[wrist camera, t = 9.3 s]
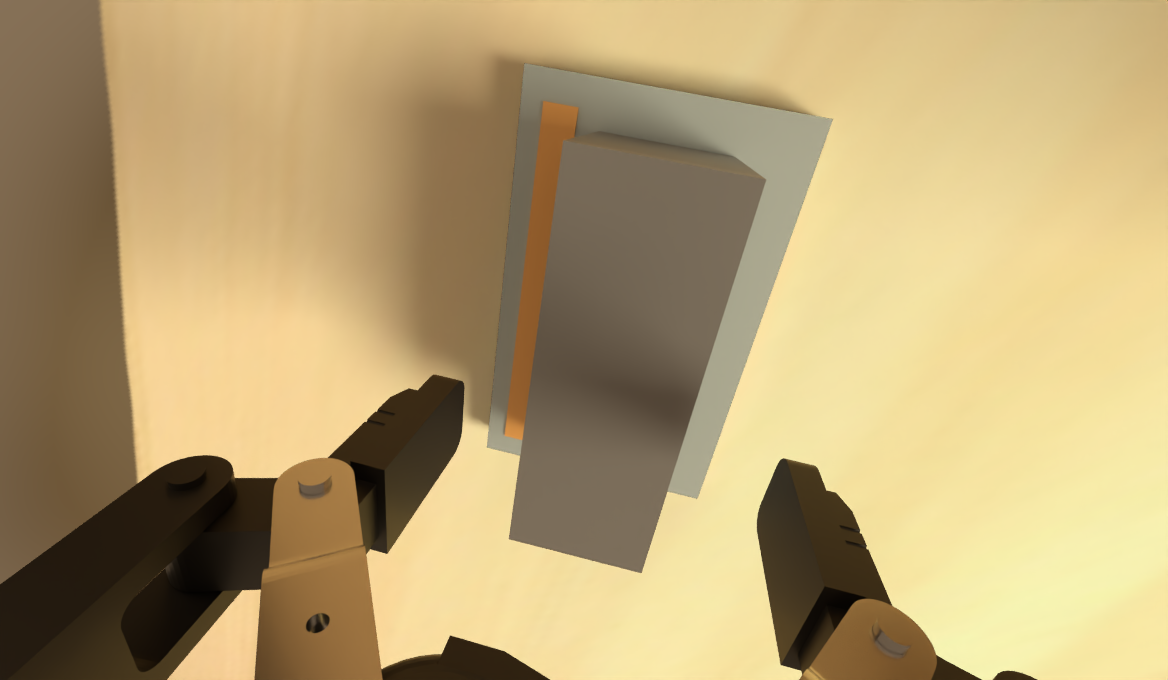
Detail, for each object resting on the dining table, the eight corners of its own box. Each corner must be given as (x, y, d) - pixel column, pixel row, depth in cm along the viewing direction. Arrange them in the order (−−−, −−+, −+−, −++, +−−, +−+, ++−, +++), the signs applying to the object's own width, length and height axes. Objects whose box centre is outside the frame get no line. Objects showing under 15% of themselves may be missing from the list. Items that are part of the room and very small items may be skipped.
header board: (820, 118, 17) (888, 121, 11) (695, 476, 24) (702, 581, 18) (535, 66, 17) (476, 47, 12) (497, 429, 24) (448, 516, 19)
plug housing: (734, 156, 16) (766, 179, 11) (649, 457, 22) (641, 572, 16) (599, 130, 17) (563, 140, 11) (549, 434, 22) (508, 538, 17)
